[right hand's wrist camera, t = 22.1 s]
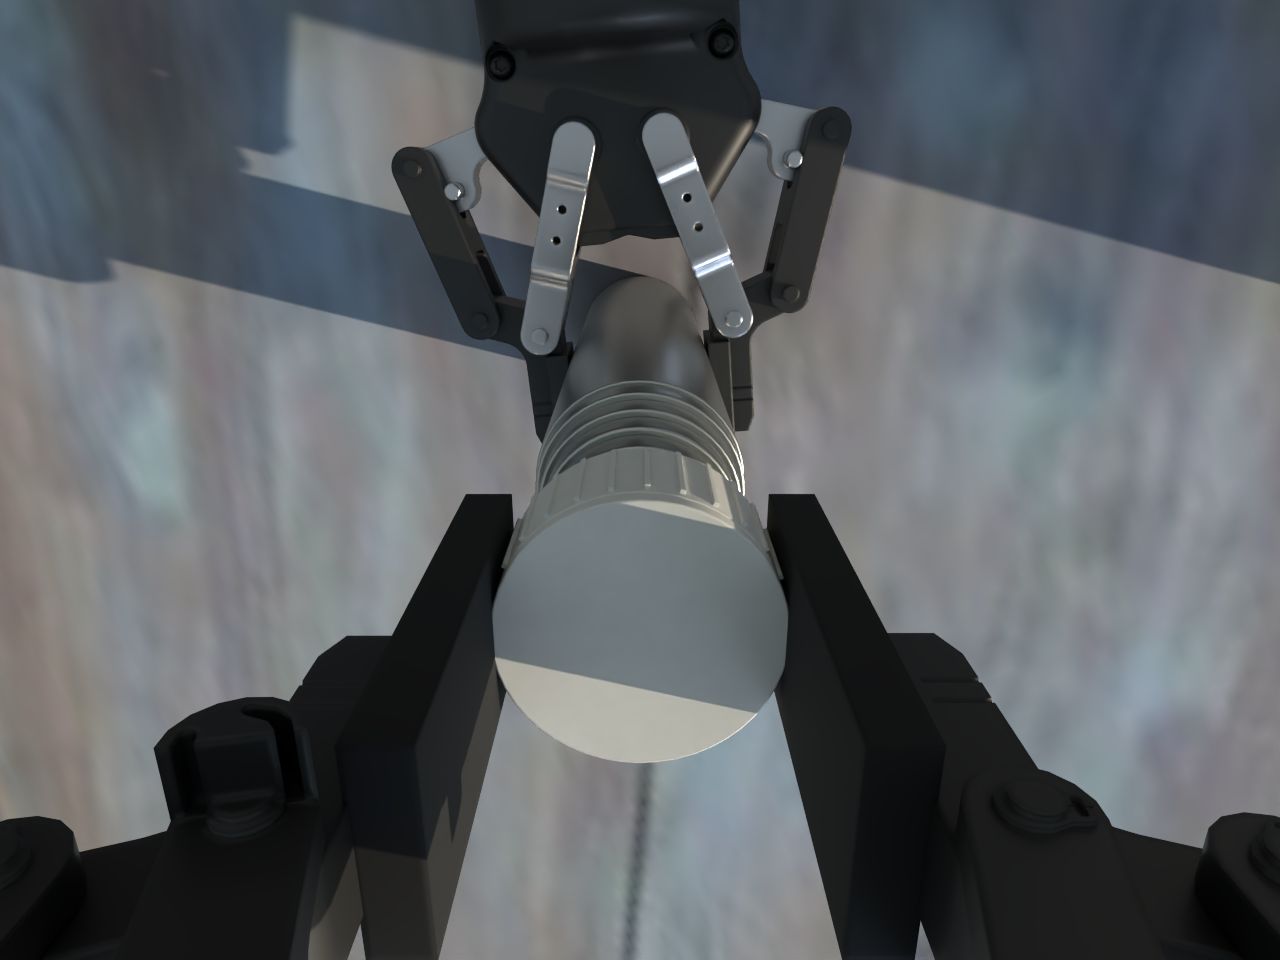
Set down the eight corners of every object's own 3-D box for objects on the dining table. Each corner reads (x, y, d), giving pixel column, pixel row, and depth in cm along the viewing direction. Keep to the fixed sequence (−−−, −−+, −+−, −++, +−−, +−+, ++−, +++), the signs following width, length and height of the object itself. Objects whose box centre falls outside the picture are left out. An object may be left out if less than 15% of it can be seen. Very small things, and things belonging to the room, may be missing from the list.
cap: (453, 547, 14) (420, 613, 12) (666, 389, 13) (671, 432, 11) (617, 724, 16) (613, 814, 13) (823, 591, 15) (853, 664, 13)
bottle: (602, 399, 36) (545, 765, 14) (570, 294, 34) (450, 521, 13) (707, 370, 35) (815, 701, 14) (679, 262, 34) (749, 440, 12)
